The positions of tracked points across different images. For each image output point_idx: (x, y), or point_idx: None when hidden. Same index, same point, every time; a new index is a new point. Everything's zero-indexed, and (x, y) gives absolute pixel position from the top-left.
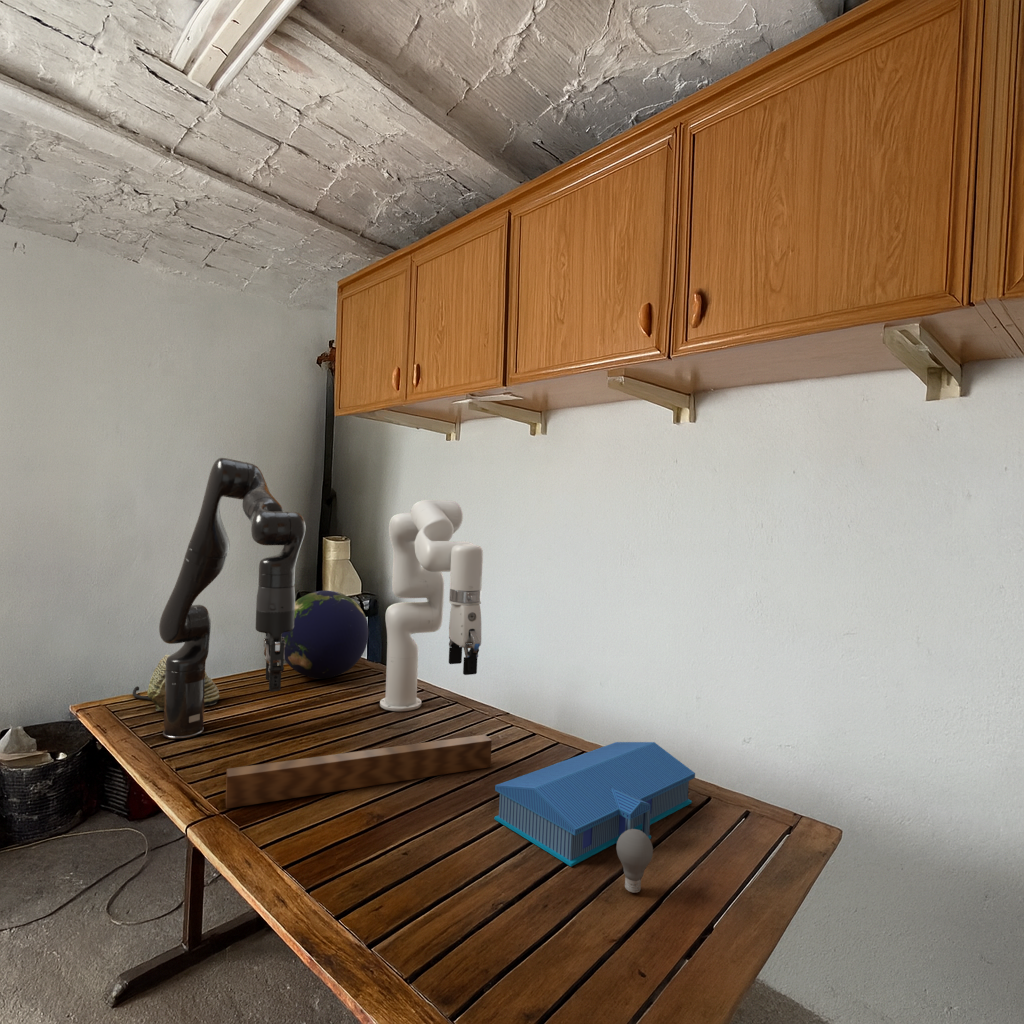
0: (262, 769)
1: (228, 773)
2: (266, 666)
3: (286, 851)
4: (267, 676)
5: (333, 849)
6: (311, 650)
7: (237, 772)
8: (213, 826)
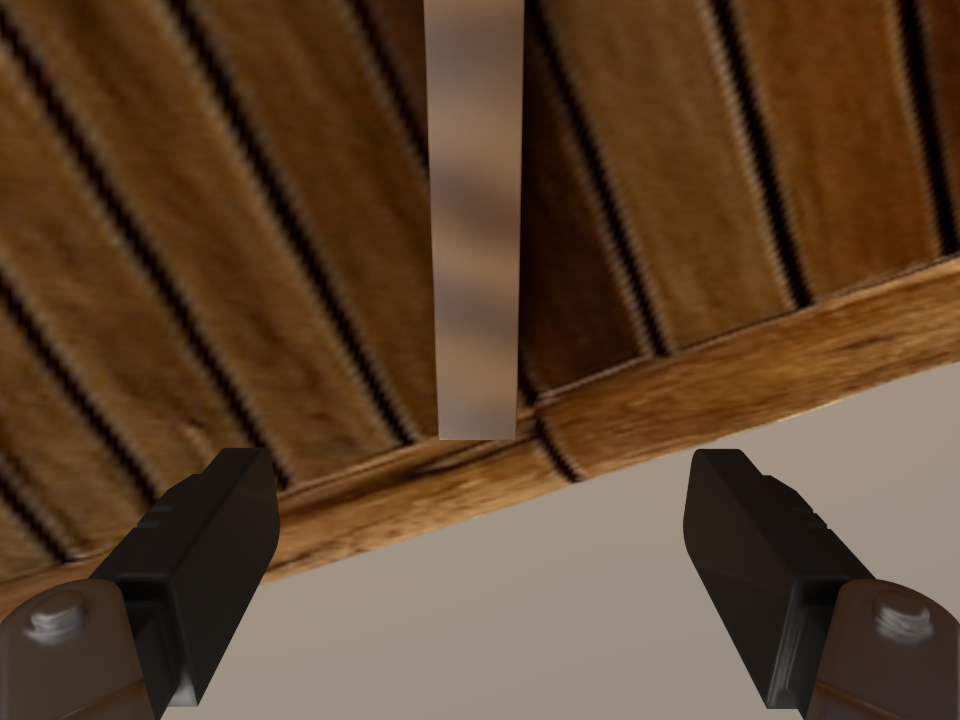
0: (493, 315)
1: (487, 435)
2: (220, 659)
3: (867, 235)
4: (265, 549)
5: (946, 83)
6: None
7: (489, 406)
8: (609, 423)
